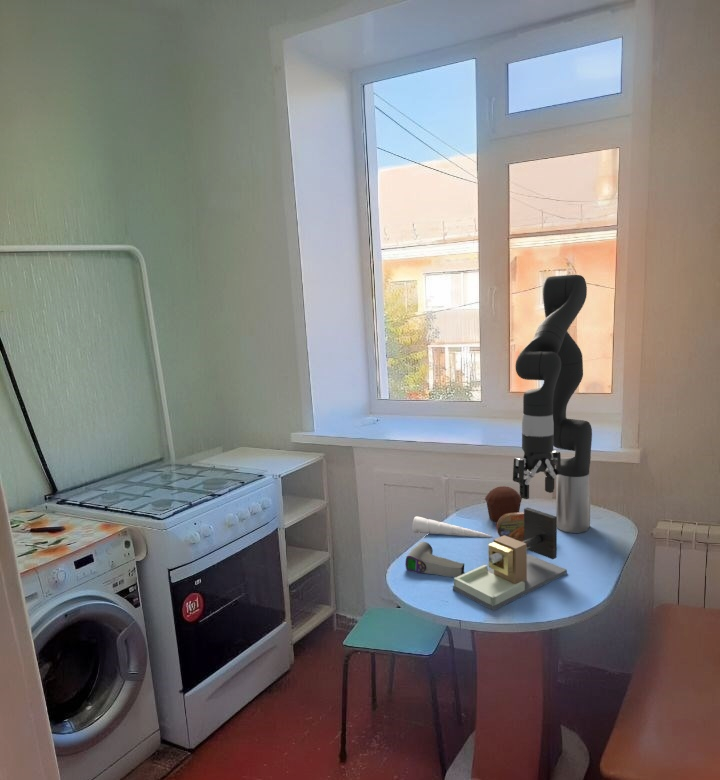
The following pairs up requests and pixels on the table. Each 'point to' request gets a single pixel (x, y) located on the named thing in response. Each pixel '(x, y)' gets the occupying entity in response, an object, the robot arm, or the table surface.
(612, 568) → the table surface
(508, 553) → the spacer
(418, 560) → the infrared thermometer
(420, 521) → the unicorn horn
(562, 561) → the table surface
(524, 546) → the shaft rig
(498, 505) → the muffin
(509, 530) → the tin
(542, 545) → the shaft
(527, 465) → the robot arm
